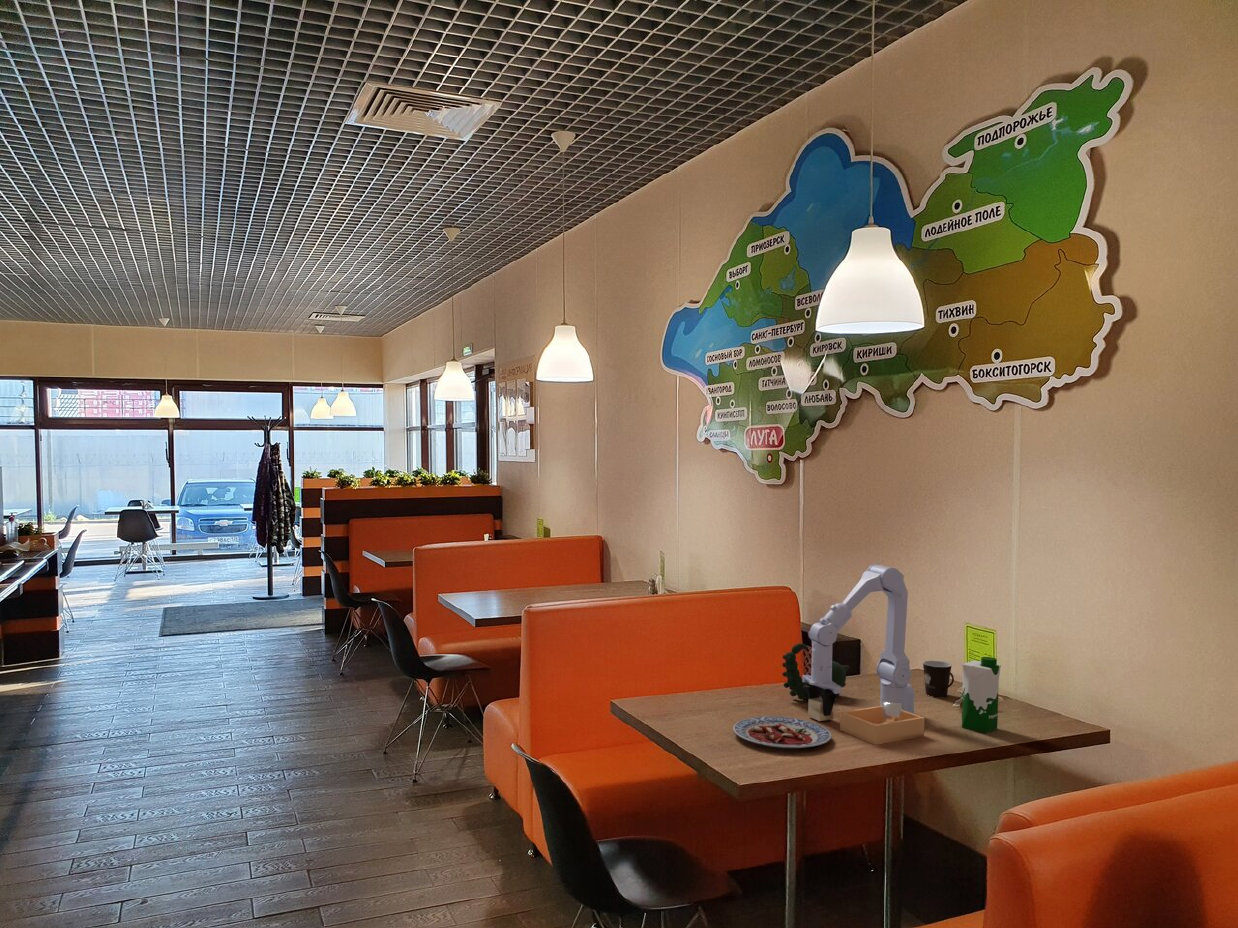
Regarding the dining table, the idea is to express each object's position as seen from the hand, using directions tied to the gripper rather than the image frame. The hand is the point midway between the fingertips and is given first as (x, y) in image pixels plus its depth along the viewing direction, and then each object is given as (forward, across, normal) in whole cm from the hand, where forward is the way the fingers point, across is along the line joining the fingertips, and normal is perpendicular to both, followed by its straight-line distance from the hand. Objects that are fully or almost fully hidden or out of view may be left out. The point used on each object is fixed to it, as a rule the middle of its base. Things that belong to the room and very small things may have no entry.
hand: (820, 712), depth 260 cm
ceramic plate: (+2, +9, -21) cm, 23 cm away
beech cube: (+1, 0, 0) cm, 1 cm away
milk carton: (+2, +25, +36) cm, 44 cm away
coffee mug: (+2, -4, +51) cm, 51 cm away
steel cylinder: (+1, +17, +11) cm, 20 cm away
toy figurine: (+2, -18, +14) cm, 23 cm away
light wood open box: (+2, +17, +7) cm, 18 cm away
